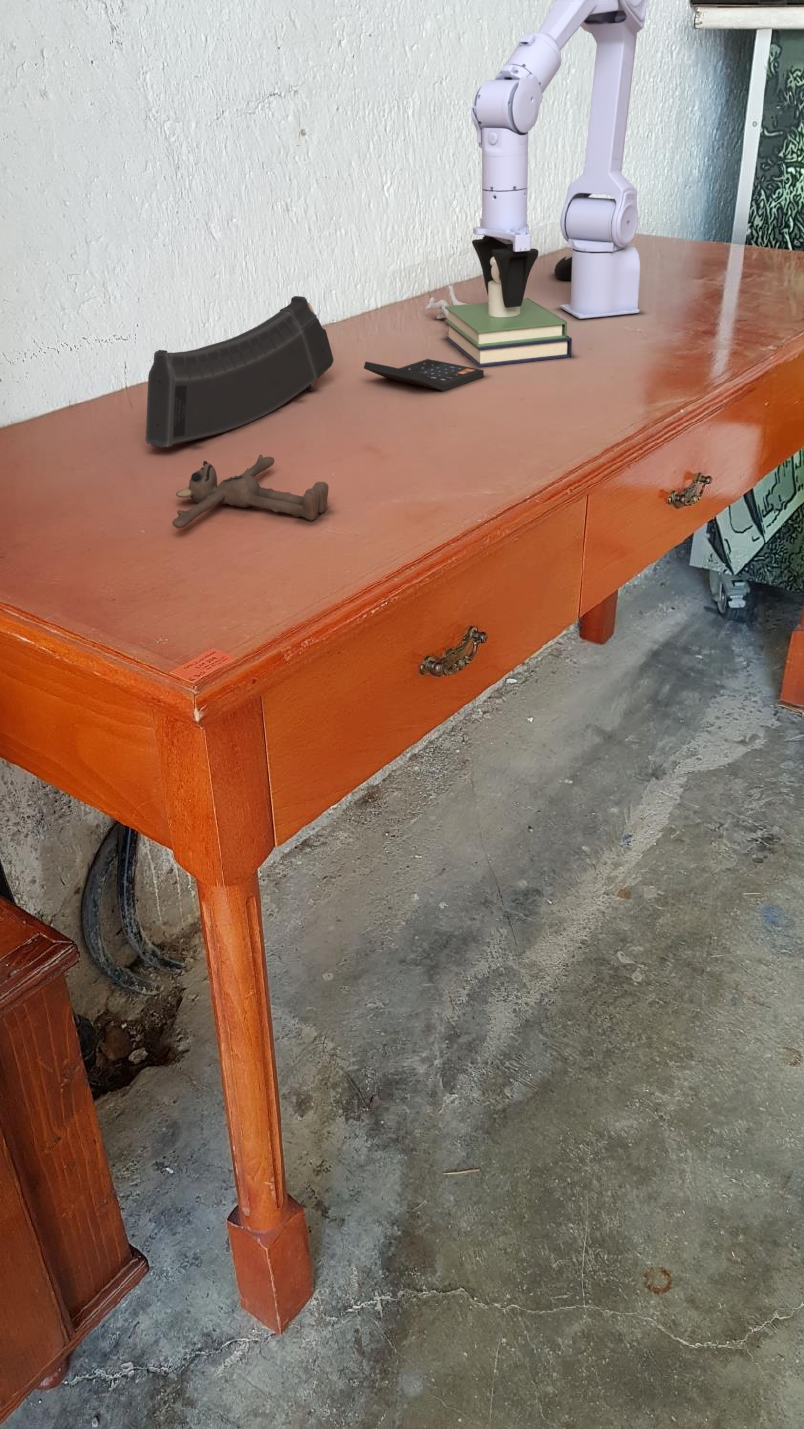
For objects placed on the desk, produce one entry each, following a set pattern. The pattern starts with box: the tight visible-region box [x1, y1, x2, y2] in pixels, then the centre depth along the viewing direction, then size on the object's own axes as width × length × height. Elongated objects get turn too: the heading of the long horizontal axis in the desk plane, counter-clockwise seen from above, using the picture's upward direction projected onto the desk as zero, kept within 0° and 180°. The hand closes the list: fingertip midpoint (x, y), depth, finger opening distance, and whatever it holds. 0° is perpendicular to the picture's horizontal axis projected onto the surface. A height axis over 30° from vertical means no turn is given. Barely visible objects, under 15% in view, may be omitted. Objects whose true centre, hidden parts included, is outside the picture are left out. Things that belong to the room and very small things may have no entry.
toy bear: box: [487, 257, 520, 318], centre depth 150 cm, size 4×4×7 cm
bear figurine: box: [171, 454, 329, 529], centre depth 107 cm, size 18×4×14 cm
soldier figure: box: [425, 283, 467, 320], centre depth 164 cm, size 8×5×12 cm
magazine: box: [145, 295, 334, 449], centre depth 129 cm, size 17×3×30 cm
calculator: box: [363, 358, 485, 392], centre depth 141 cm, size 9×12×3 cm
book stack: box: [444, 297, 573, 368], centre depth 153 cm, size 12×16×4 cm
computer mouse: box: [554, 253, 572, 281], centre depth 190 cm, size 8×12×4 cm, turn 89°
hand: (504, 300), depth 151 cm, fingers open, 7 cm apart
